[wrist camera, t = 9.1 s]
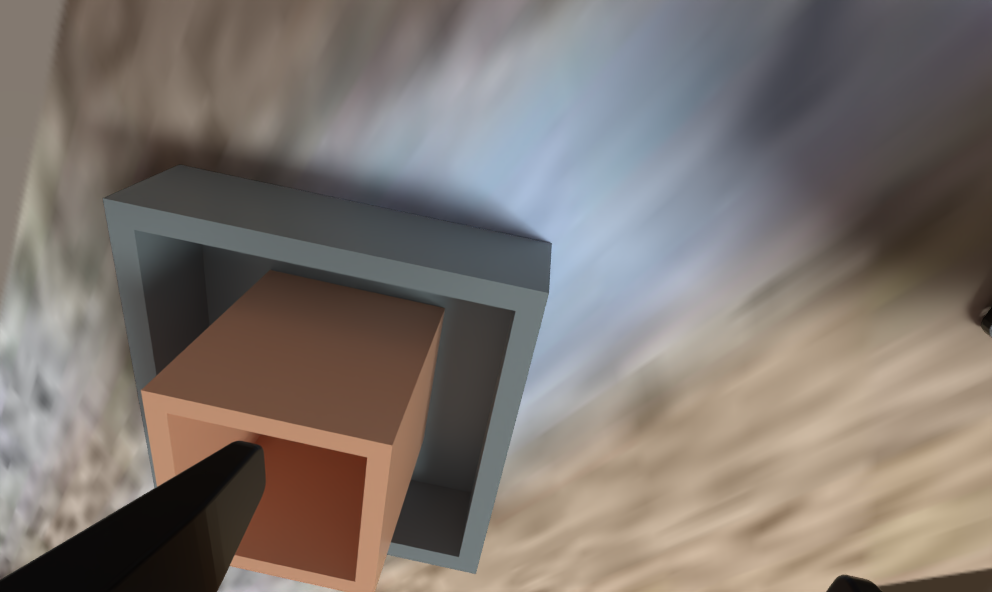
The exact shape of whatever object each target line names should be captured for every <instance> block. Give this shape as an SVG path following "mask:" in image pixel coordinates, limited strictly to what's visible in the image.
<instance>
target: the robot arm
mask: <svg viewBox="0 0 992 592" xmlns="http://www.w3.org/2000/svg"><path fill="white" fill-rule="evenodd" d="M981 326H982V329H983V330H984V332H986V333H987V334H988V335H989V336H991V337H992V307H991V309H990V310H989V311H988V313H987V314H986V316H985V317H984V319H983V321H982V323H981ZM265 485H266V473H265V459H264V450H263V448H262V446H261V445H258V444H254V443H250V442H245V441H235V442H232V443H230V444H228V445H227V446H225V447H223V448H222V449H220V450H218V451H217V452H215V453H213V454H212V455H210V456H208V457H206V458H205V459H203V460H201V461H200V462H198V463H196V464H195V465H193V466H191V467H190V468H188V469H186V470H185V471H183V472H181V473H180V474H178V475H176V476H174V477H173V478H171V479H169V480H168V481H166V482H164V483H163V484H161V485H159V486H158V487H156V488H154V489H153V490H151V491H149V492H148V493H146V494H144V495H142V496H141V497H139V498H137V499H136V500H134V501H132V502H131V503H129V504H127V505H126V506H124V507H122V508H121V509H119V510H117V511H116V512H114V513H112V514H110V515H109V516H107V517H105V518H104V519H102V520H100V521H99V522H97V523H95V524H94V525H92V526H90V527H89V528H87V529H85V530H84V531H82V532H80V533H78V534H77V535H75V536H73V537H72V538H70V539H68V540H67V541H65V542H63V543H62V544H60V545H58V546H57V547H55V548H53V549H52V550H50V551H48V552H46V553H45V554H43V555H41V556H40V557H38V558H36V559H35V560H33V561H31V562H30V563H28V564H26V565H25V566H23V567H21V568H20V569H18V570H16V571H14V572H13V573H11V574H9V575H8V576H6V577H4V578H3V579H1V580H0V592H217V591H218V589H219V587H220V585H221V583H222V581H223V579H224V577H225V575H226V573H227V570H228V568H229V566H230V564H231V562H232V560H233V558H234V556H235V553H236V551H237V549H238V547H239V545H240V543H241V541H242V539H243V536H244V534H245V532H246V530H247V528H248V526H249V524H250V521H251V519H252V517H253V515H254V513H255V511H256V509H257V507H258V504H259V502H260V500H261V498H262V496H263V493H264V490H265ZM826 592H882V591H881V590H880V589H879V587H877V586H876V585H875V584H874V583H873V582H871V581H869V580H867V579H863V578H858V577H854V576H849V575H841V576H838V577H837V578H836V579H835V580H834V582H833V583H832V584H831V586H830V587H829V588H828V590H827V591H826Z"/></svg>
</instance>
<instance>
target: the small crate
mask: <svg viewBox="0 0 992 592" xmlns="http://www.w3.org/2000/svg"><path fill="white" fill-rule="evenodd" d="M444 312H445V308H442V307H438V306H433V305H428V304H424V303H419V302H415V301H410V300H406V299H401V298H396V297H392V296H387V295H383V294H378V293H374V292H369V291H364V290H360V289H355V288H351V287H346V286H342V285H337V284H332V283H328V282H323V281H319V280H314V279H309V278H305V277H300V276H296V275H291V274H287V273H282V272H277V271H273V270H269V271H268V272H267V273H266V274H265V275H264V276H263V277H262V278H261V279H260V280H259V281H258V282H256V283H255V284H254V285H253V286H252V287H251V288H250V289H249V290H248V291H247V292H246V293H245V294H244V295H243V296H241V297H240V298H239V299H238V300H237V301H236V302H235V303H234V304H233V305H232V306H231V307H230V308H229V309H228V310H226V311H225V312H224V313H223V314H222V315H221V316H220V317H219V318H218V319H217V320H216V321H215V322H214V323H212V324H211V325H210V326H209V327H208V328H207V329H206V330H205V331H204V332H203V333H202V334H201V335H200V336H199V337H197V338H196V339H195V340H194V341H193V342H192V343H191V344H190V345H189V346H188V347H187V348H186V349H185V350H184V351H182V352H181V353H180V354H179V355H178V356H177V357H176V358H175V359H174V360H173V361H172V362H171V363H170V364H169V365H167V366H166V367H165V368H164V369H163V370H162V371H161V372H160V373H159V374H158V375H157V376H156V377H155V378H153V379H152V380H151V381H150V382H149V383H148V384H147V385H146V386H145V387H144V388H143V389H142V390H141V394H142V400H143V406H144V412H145V418H146V424H147V430H148V436H149V442H150V448H151V454H152V460H153V466H154V471H155V477H156V483H157V487H158V486H159V485H161V484H163V483H164V482H166V481H168V480H169V479H171V478H173V477H174V476H176V475H178V474H180V473H181V472H183V471H185V470H186V469H188V468H190V467H191V466H193V465H195V464H196V463H198V462H200V461H201V460H203V459H205V458H206V457H208V456H210V455H212V454H213V453H215V452H217V451H218V450H220V449H222V448H223V447H225V446H227V445H228V444H230V443H232V442H235V441H245V442H250V443H254V444H258V445H261V446H262V448H263V450H264V459H265V473H266V485H265V490H264V493H263V496H262V498H261V500H260V502H259V504H258V507H257V509H256V511H255V513H254V515H253V517H252V519H251V521H250V524H249V526H248V528H247V530H246V532H245V534H244V536H243V539H242V541H241V543H240V545H239V547H238V549H237V551H236V553H235V556H234V558H233V560H232V562H231V564H230V566H232V567H237V568H241V569H246V570H250V571H255V572H259V573H264V574H268V575H273V576H277V577H282V578H286V579H291V580H295V581H300V582H304V583H309V584H313V585H318V586H322V587H327V588H331V589H336V590H340V591H345V592H375V590H376V587H377V584H378V581H379V577H380V574H381V571H382V568H383V565H384V562H385V559H386V556H387V552H388V549H389V546H390V543H391V540H392V537H393V534H394V530H395V527H396V524H397V521H398V518H399V515H400V512H401V508H402V505H403V502H404V499H405V496H406V493H407V490H408V487H409V483H410V480H411V477H412V474H413V471H414V468H415V465H416V461H417V458H418V455H419V452H420V449H421V446H422V443H423V440H424V434H425V428H426V422H427V416H428V409H429V403H430V397H431V391H432V385H433V379H434V373H435V367H436V361H437V354H438V348H439V342H440V336H441V330H442V324H443V318H444Z"/></svg>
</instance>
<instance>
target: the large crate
mask: <svg viewBox="0 0 992 592" xmlns="http://www.w3.org/2000/svg"><path fill="white" fill-rule="evenodd" d="M103 202H104V208H105V214H106V219H107V225H108V230H109V236H110V242H111V247H112V253H113V258H114V264H115V270H116V275H117V281H118V286H119V292H120V297H121V303H122V309H123V314H124V320H125V325H126V331H127V337H128V342H129V348H130V353H131V359H132V364H133V370H134V376H135V381H136V387H137V392H138V398H139V404H140V409H141V415H142V420H143V426H144V432H145V437H146V443H147V448H148V454H149V459H150V465H151V471H152V476H153V482H154V487H155V488H156V487H157V483H156V477H155V471H154V466H153V460H152V454H151V448H150V442H149V436H148V430H147V424H146V418H145V412H144V406H143V400H142V394H141V390H142V389H143V388H144V387H145V386H146V385H147V384H148V383H149V382H150V381H151V380H152V379H153V378H155V377H156V376H157V375H158V374H159V373H160V372H161V371H162V370H163V369H164V368H165V367H166V366H167V365H169V364H170V363H171V362H172V361H173V360H174V359H175V358H176V357H177V356H178V355H179V354H180V353H181V352H182V351H184V350H185V349H186V348H187V347H188V346H189V345H190V344H191V343H192V342H193V341H194V340H195V339H196V338H197V337H199V336H200V335H201V334H202V333H203V332H204V331H205V330H206V329H207V328H208V327H209V326H210V325H211V324H212V323H214V322H215V321H216V320H217V319H218V318H219V317H220V316H221V315H222V314H223V313H224V312H225V311H226V310H228V309H229V308H230V307H231V306H232V305H233V304H234V303H235V302H236V301H237V300H238V299H239V298H240V297H241V296H243V295H244V294H245V293H246V292H247V291H248V290H249V289H250V288H251V287H252V286H253V285H254V284H255V283H256V282H258V281H259V280H260V279H261V278H262V277H263V276H264V275H265V274H266V273H267V272H268V271H269V270H273V271H277V272H282V273H287V274H291V275H296V276H300V277H305V278H309V279H314V280H319V281H323V282H328V283H332V284H337V285H342V286H346V287H351V288H355V289H360V290H364V291H369V292H374V293H378V294H383V295H387V296H392V297H396V298H401V299H406V300H410V301H415V302H419V303H424V304H428V305H433V306H438V307H442V308H445V312H444V318H443V324H442V330H441V336H440V342H439V348H438V354H437V361H436V367H435V373H434V379H433V385H432V391H431V397H430V403H429V409H428V416H427V422H426V428H425V434H424V440H423V443H422V446H421V449H420V452H419V455H418V458H417V461H416V465H415V468H414V471H413V474H412V477H411V480H410V483H409V487H408V490H407V493H406V496H405V499H404V502H403V505H402V508H401V512H400V515H399V518H398V521H397V524H396V527H395V530H394V534H393V537H392V540H391V543H390V546H389V549H388V552H387V555H391V556H396V557H400V558H405V559H409V560H414V561H418V562H423V563H428V564H432V565H437V566H441V567H446V568H451V569H455V570H460V571H464V572H469V573H473V574H476V571H477V567H478V563H479V560H480V556H481V552H482V548H483V544H484V540H485V537H486V533H487V529H488V525H489V521H490V517H491V513H492V510H493V506H494V502H495V498H496V494H497V490H498V487H499V483H500V479H501V475H502V471H503V467H504V464H505V460H506V456H507V452H508V448H509V444H510V441H511V437H512V433H513V429H514V425H515V421H516V417H517V414H518V410H519V406H520V402H521V398H522V394H523V391H524V387H525V383H526V379H527V375H528V371H529V368H530V364H531V360H532V356H533V352H534V348H535V345H536V341H537V337H538V333H539V329H540V325H541V322H542V318H543V314H544V310H545V306H546V302H547V298H548V295H549V282H550V265H551V248H552V243H548V242H543V241H538V240H533V239H529V238H524V237H519V236H514V235H510V234H505V233H500V232H496V231H491V230H486V229H481V228H477V227H472V226H467V225H462V224H458V223H453V222H448V221H444V220H439V219H434V218H429V217H425V216H420V215H415V214H410V213H406V212H401V211H396V210H392V209H387V208H382V207H377V206H373V205H368V204H363V203H358V202H354V201H349V200H344V199H340V198H335V197H330V196H325V195H321V194H316V193H311V192H307V191H302V190H297V189H292V188H288V187H283V186H278V185H273V184H269V183H264V182H259V181H255V180H250V179H245V178H240V177H236V176H231V175H226V174H221V173H217V172H212V171H207V170H203V169H198V168H193V167H188V166H184V165H177V166H175V167H173V168H171V169H168V170H166V171H164V172H161V173H159V174H157V175H155V176H152V177H150V178H148V179H146V180H143V181H141V182H139V183H136V184H134V185H132V186H130V187H127V188H125V189H123V190H120V191H118V192H116V193H114V194H111V195H109V196H107V197H105V198H103Z"/></svg>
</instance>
